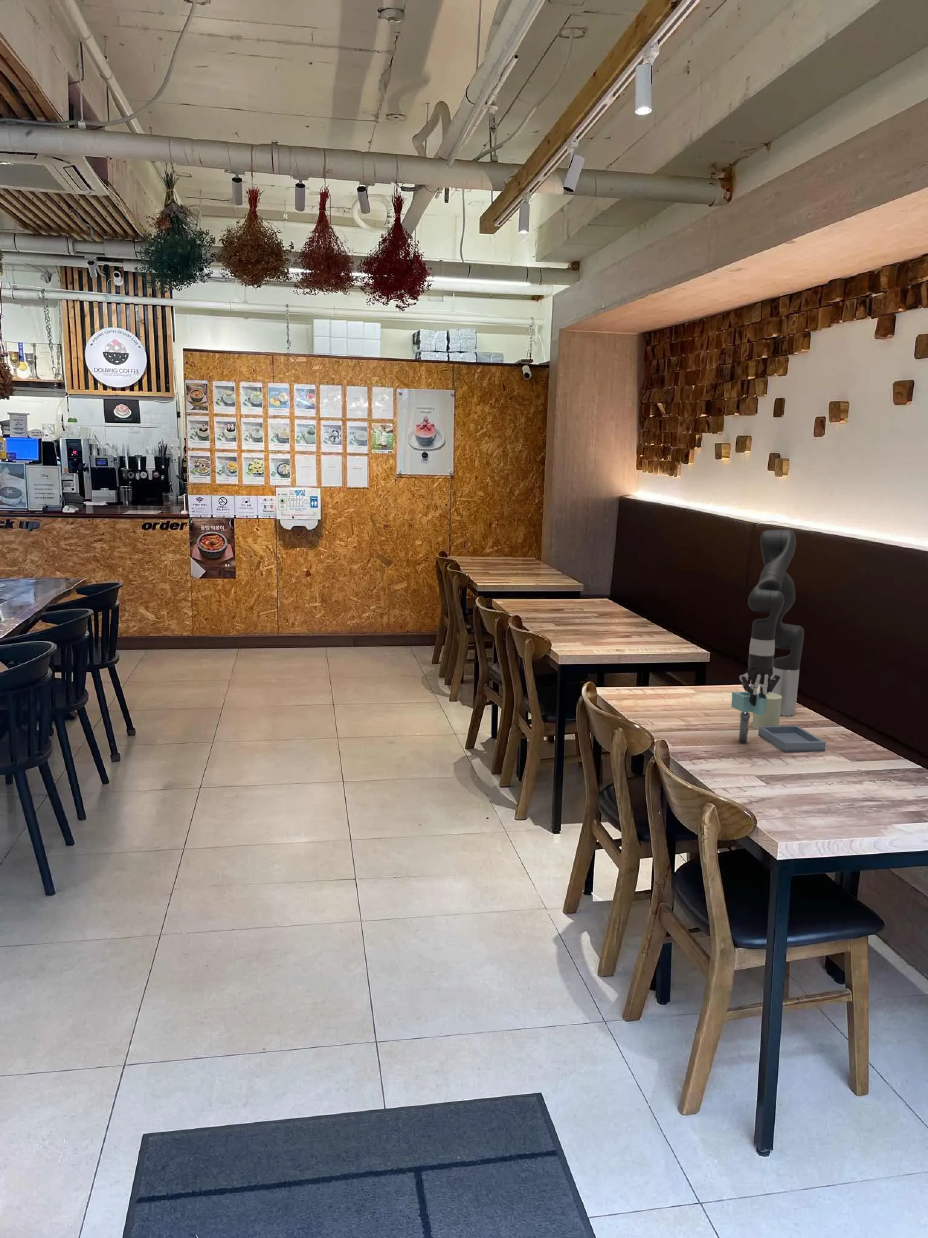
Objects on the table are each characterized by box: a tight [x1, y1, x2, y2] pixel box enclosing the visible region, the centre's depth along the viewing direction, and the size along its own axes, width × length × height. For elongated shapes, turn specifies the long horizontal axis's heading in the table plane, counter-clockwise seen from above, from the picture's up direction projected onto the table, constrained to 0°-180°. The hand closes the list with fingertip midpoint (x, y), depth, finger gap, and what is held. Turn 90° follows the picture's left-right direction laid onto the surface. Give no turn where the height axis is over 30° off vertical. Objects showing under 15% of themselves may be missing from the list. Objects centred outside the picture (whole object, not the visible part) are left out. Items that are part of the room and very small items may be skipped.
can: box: [751, 691, 782, 731], centre depth 304 cm, size 9×9×12 cm
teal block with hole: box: [731, 691, 767, 715], centre depth 282 cm, size 12×8×5 cm, turn 9°
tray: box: [757, 725, 827, 753], centre depth 289 cm, size 18×14×3 cm
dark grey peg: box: [738, 711, 751, 744], centre depth 287 cm, size 3×3×11 cm
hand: (756, 704), depth 279 cm, fingers closed on teal block with hole
